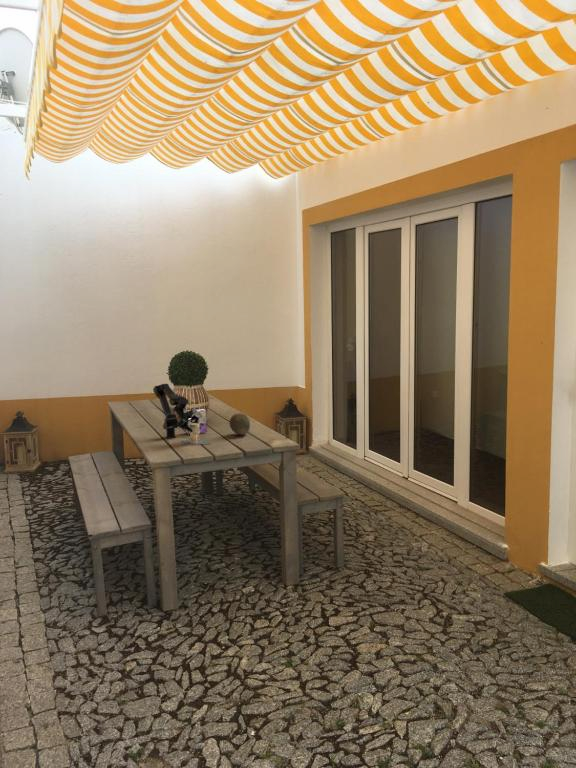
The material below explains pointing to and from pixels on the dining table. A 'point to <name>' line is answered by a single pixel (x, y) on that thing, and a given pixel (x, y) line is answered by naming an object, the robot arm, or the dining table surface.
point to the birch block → (195, 433)
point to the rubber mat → (187, 442)
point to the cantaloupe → (239, 424)
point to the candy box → (200, 421)
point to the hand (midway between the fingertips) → (196, 430)
